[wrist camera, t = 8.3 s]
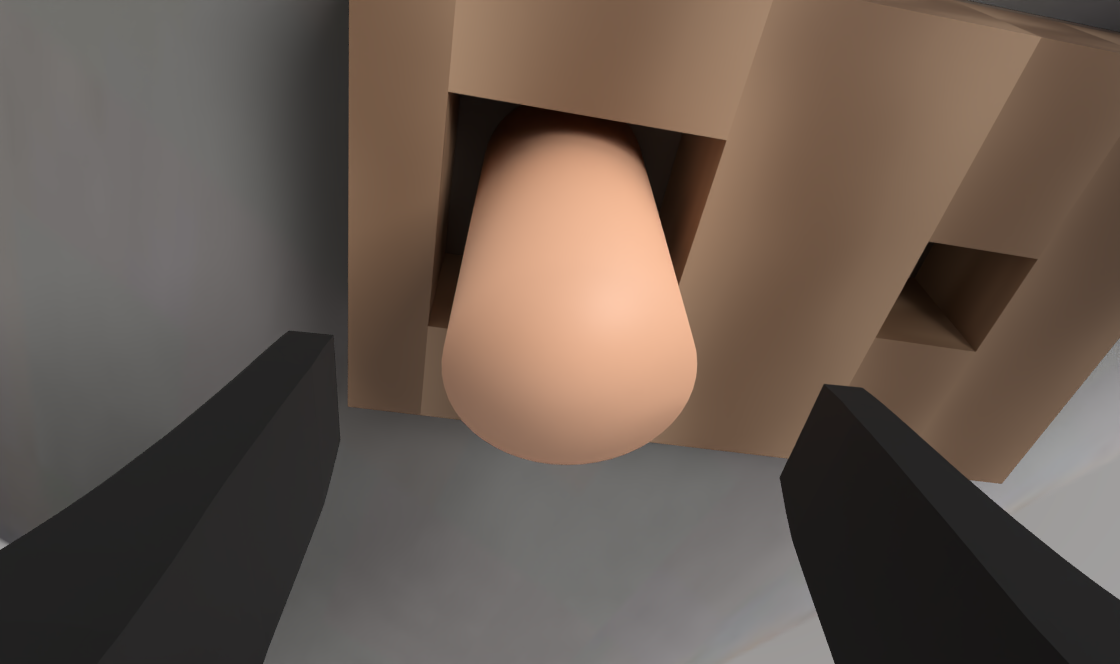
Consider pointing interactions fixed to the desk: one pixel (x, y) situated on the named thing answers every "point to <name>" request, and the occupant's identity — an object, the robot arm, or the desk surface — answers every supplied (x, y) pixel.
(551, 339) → the pin
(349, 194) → the socket block
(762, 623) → the desk surface
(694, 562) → the desk surface
